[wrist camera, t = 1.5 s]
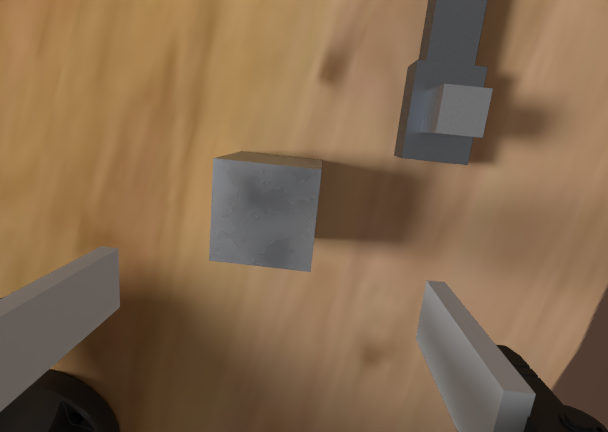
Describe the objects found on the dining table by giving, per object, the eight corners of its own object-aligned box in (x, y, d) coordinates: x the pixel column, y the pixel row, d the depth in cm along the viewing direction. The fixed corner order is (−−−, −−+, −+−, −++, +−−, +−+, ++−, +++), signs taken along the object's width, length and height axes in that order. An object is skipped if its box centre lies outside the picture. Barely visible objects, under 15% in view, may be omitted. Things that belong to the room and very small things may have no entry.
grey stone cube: (236, 229, 33) (209, 260, 25) (240, 151, 31) (213, 158, 23) (313, 238, 33) (310, 271, 25) (321, 159, 31) (321, 169, 23)
